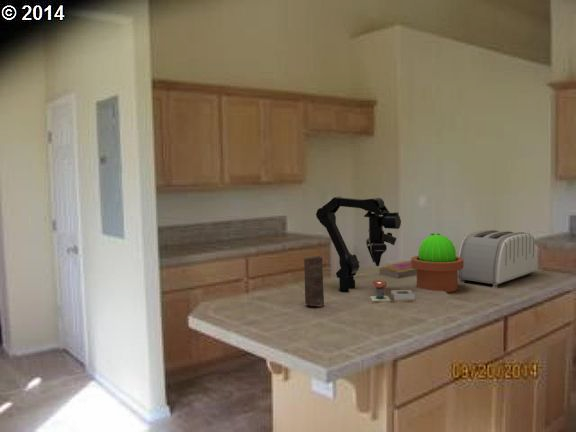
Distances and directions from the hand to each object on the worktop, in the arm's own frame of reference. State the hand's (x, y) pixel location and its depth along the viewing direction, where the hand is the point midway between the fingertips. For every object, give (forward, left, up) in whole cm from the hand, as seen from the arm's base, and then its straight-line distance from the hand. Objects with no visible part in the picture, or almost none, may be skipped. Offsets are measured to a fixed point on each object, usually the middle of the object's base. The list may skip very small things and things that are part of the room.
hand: (376, 264), depth 228 cm
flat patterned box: (+25, +47, -14) cm, 55 cm away
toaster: (+63, +29, -13) cm, 71 cm away
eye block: (+8, -14, -12) cm, 20 cm away
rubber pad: (-1, -14, -12) cm, 19 cm away
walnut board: (+4, -14, -13) cm, 20 cm away
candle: (-27, -18, -13) cm, 35 cm away
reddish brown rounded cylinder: (-1, -14, -11) cm, 18 cm away
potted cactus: (+28, +8, -13) cm, 32 cm away
